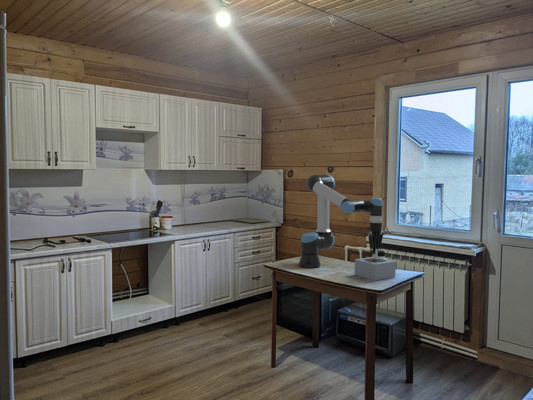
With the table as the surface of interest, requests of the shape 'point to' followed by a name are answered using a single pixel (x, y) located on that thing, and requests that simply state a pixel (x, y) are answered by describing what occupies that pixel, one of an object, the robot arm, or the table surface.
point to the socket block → (375, 268)
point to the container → (381, 254)
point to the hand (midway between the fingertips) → (375, 258)
